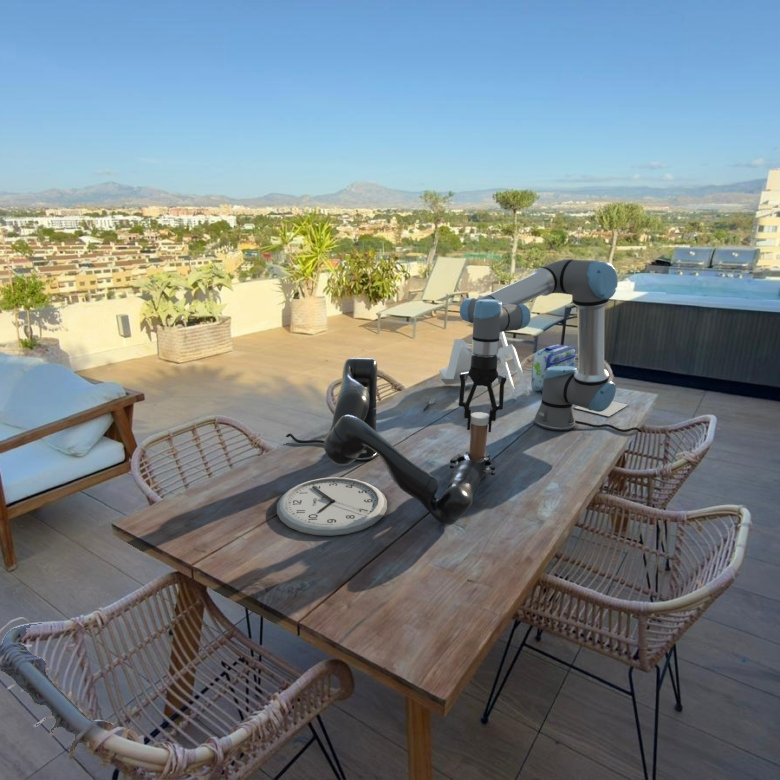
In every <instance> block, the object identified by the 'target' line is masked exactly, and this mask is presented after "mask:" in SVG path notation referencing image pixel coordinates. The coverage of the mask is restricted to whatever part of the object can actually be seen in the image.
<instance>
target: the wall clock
mask: <svg viewBox="0 0 780 780" xmlns="http://www.w3.org/2000/svg"><path fill="white" fill-rule="evenodd" d="M387 509H388V500H387V498H386V496H385V494H384V493H383V492H382V491H381V490H380V489H379V488H377V487H376V486H374V485H372V484H371V483H369V482H365V481H362V480H359V479H355V478H349V477H338V476H337V477H335V476H333V477H332V476H331V477H322V478H317V479H312V480H307V481H305V482H302V483H299V484H297V485H295V486H293V487H292V488H290V489H288V490H287V491H286V492H285V493H284V494H283V495H281V496H280V498H279V499H278V502H277V503H276V515H277V517H278V518H279V520H280V521H281V522H282V523H283V524H285V525H286V526H287V527H288V528H290V529H293V530H295V531H297V532H299V533H303V534H308V535H312V536H327V537H328V536H329V537H331V536H332V537H333V536H342V535H350V534H352V533H356V532H361V531H363V530H366V529H368V528H369V527H372V526H373V525H375V524H376V523H378V522H379V521H380V520H381V519H382V518H383V517H384V516H385V514H386V512H387Z"/></svg>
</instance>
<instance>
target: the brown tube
mask: <svg viewBox="0 0 780 780" xmlns="http://www.w3.org/2000/svg"><path fill="white" fill-rule="evenodd" d="M488 428H489V424H488V425H485V426H478V425H474V424H472V423H470V438H469V450H470V451H469V450H468V451H469V459H470V460H474V461H478V460H480V459H481V458H482V459H484V457H485V455H486V453H487V451H486V450H487V441H488V440H487V439H488ZM484 477H485V474H484V475H483V476H482V478H481V480H482V479H483V478H484Z"/></svg>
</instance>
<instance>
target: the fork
mask: <svg viewBox="0 0 780 780" xmlns="http://www.w3.org/2000/svg"><path fill="white" fill-rule="evenodd" d="M436 400H437V397H436V396H432V395H431V396H430V399H429V401H428V404H426V405H425V407H424V409H423V411H422V412H424V411H426V410H428V408H429V407H430V406H431V405H433V404H435V403H436Z"/></svg>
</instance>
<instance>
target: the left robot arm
mask: <svg viewBox="0 0 780 780" xmlns="http://www.w3.org/2000/svg"><path fill="white" fill-rule="evenodd" d="M378 369H379V368H378V362H377V360H376V359H375V358H371V357H370V358H369V357H350V358H347V359H346V360H345V362H344V363H343V366H342V373H341V384H340V387H339V390H338V394H337V396H336V401H335V406H334V412H333V416H332V420H331V425H330V428H329V430H328V432H327V435H326V436H325V438H324V440H323V439H310V440H309V439H308V440H307V439H305V440H303V439H298V438H296V437H295V436H294V435H293V433H287V434H286V436H285V437H286V438H291V439H292V440H293V441H294V442H296V443H298V444H315V443H316V444H317V443H318V444H323V449H324V453H325V454H326V456H327V458H329V460H330V461H331V462H332V463H334V464H336V465H339V466H348V465H351V464H353V463H354V462H355V461H358V462H365V461H371V460H373V459H375V458H376V457H377V455H378V457H380V459H381V461H382V462H383V464H384V466H385V468H386V470H387V472H388V474H389V476H390V478H391V480H392V481H393V483H394V484H395V485H396V486H397V488H399V490H401V491H403V492H405V493H406V494H408V495H409V496H411V497H412V498H414V499H415V500H417V501H418V502H419V503H420V504H421V505H422V506H423V507H424V508H425V509H426V510H427V511H428V512H429V514H430V515H431V516H432V517H433V518H434V519H435V520H436V522H438V523H440V524H441V525H446V526H451V525H454V524H455V523H456V522H457V521H459V519H460V518H462V516H464V515H465V514H466V512H467V511H468V510H469V509H470V508H471V507H472V505H473V502H474V493H475V491H476V490H477V489H478V487H479V485H480V482H481V480H482V479H483V478H482V476H483V475H484V476H485V475H486V473H487V474H490V476H496V461H495V459H493V458H491V457H492V456H491V454H490V453H488V452H486V453H485V457H484V459H482V458H481V459H480V460H478V461H474V460H470V459H469V451H470V449H468V450H467V451H465V453H464V454H463V455H462V453H457V454H456V455H454V456H453V457H452V458H451V459H449V469H454V468H456V469H455V470H454V471H453V473H452V475H451V479H450V480H449V482H448V483H447V486H446V490H445V491H444V492H443V493H442V495H441V496H439V498H438V497H437V496H436V493H437V492H438V488H439V486H440V485H439V481H438V479H437V478H436V477H434V476H433V474H432V475H431V473H429V472H427V471H425V470H424V469H423V468H421V467H419V466H418V465H416V464H415V463H413V462H412V461H411V460H409V459H408V458H407V457H406V456H405V455H403V454H402V452H399V450H398V449H397V448H395V447H394V446H393V445H392V444H391V443H390V442H388V441H387V440H386V439H385V438H384V437H383V436H382V435H381V434H379V433H378V432H377V386H378ZM481 478H482V479H481Z"/></svg>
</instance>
